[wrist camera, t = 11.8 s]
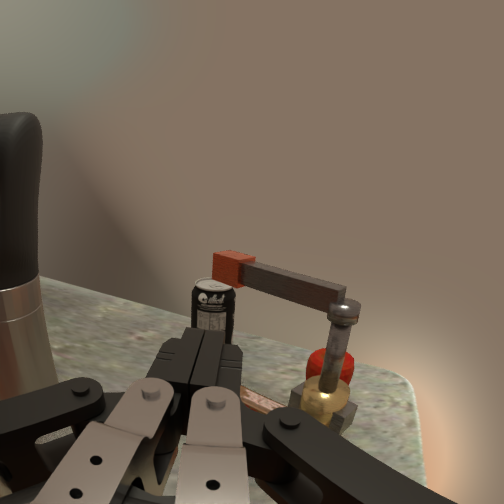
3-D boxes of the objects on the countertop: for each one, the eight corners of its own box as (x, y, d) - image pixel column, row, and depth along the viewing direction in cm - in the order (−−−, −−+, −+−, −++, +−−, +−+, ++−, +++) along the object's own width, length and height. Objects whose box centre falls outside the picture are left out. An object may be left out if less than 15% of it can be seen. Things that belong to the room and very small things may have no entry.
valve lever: (362, 318, 28) (368, 286, 28) (350, 328, 26) (357, 293, 25) (228, 276, 39) (230, 250, 38) (211, 280, 37) (212, 252, 36)
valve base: (349, 436, 31) (384, 325, 28) (326, 459, 27) (362, 342, 24) (304, 412, 36) (325, 305, 32) (278, 430, 32) (297, 316, 29)
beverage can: (214, 339, 53) (217, 274, 51) (240, 355, 49) (245, 285, 47) (183, 350, 49) (183, 280, 46) (208, 368, 44) (210, 293, 42)
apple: (323, 381, 43) (333, 338, 41) (354, 402, 38) (367, 356, 36) (291, 395, 39) (299, 349, 38) (321, 419, 34) (334, 371, 33)
